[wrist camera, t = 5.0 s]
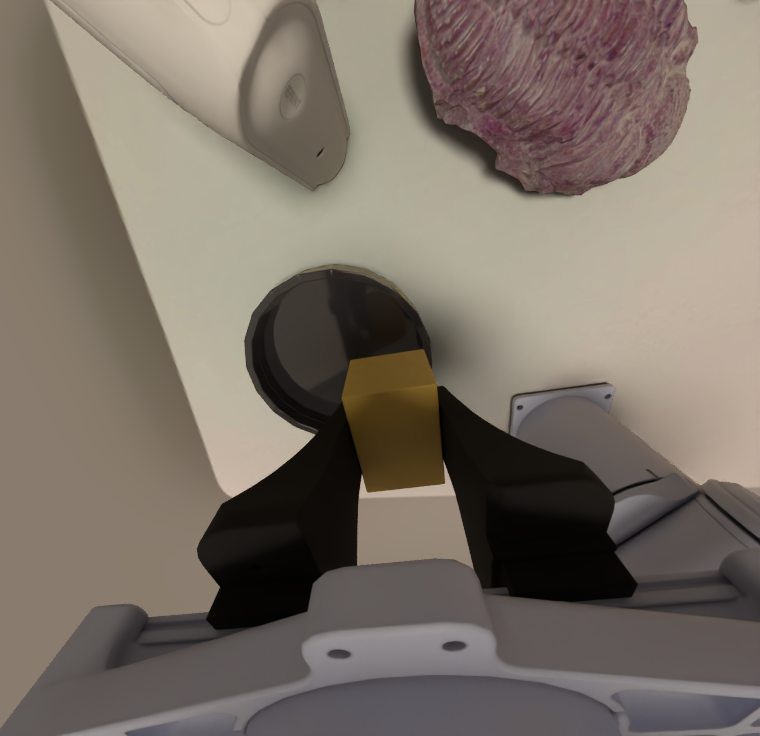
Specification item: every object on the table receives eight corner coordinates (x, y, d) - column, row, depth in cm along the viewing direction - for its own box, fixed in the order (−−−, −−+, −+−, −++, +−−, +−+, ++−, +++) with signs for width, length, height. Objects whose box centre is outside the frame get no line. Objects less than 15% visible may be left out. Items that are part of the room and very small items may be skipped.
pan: (431, 407, 23) (437, 427, 21) (289, 426, 24) (280, 447, 22) (417, 250, 18) (423, 252, 15) (233, 281, 19) (212, 288, 16)
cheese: (432, 434, 14) (445, 484, 12) (369, 442, 15) (366, 493, 12) (423, 348, 12) (437, 383, 9) (349, 359, 12) (340, 397, 10)
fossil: (447, -106, 11) (496, -340, 7) (697, 57, 14) (862, -33, 9) (381, 127, 15) (383, 78, 10) (591, 227, 17) (672, 225, 12)
